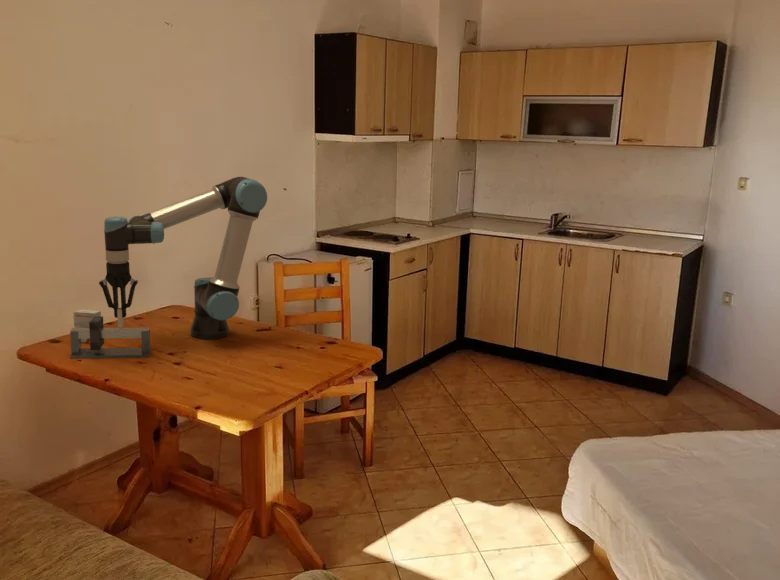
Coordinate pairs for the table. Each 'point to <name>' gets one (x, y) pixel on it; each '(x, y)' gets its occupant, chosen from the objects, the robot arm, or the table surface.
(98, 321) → the ring collar
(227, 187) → the robot arm
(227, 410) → the table surface
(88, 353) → the pipe rail
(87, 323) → the ink box
